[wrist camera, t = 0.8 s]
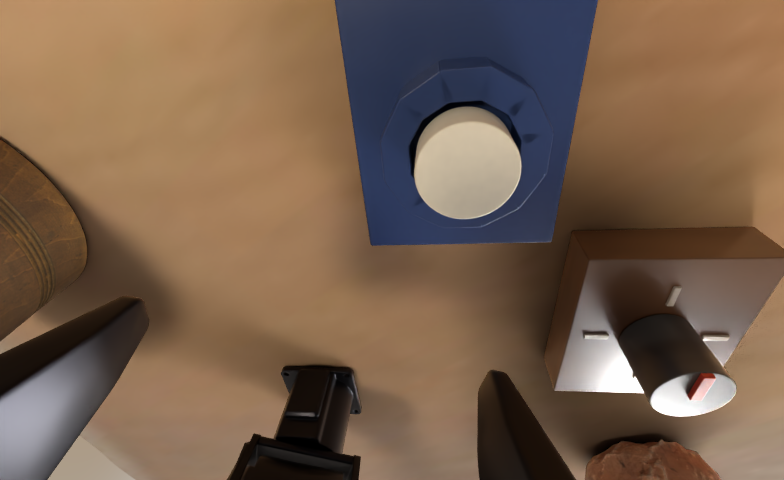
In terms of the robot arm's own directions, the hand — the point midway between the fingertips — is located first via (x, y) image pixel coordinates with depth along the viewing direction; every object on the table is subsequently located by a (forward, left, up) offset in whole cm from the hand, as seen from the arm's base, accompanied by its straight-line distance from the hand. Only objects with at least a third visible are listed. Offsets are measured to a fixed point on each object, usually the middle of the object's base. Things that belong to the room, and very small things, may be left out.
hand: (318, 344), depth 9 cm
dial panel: (-12, -16, -14) cm, 24 cm away
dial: (-12, -16, -11) cm, 23 cm away
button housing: (+1, -4, -14) cm, 14 cm away
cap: (+1, -4, -9) cm, 10 cm away
